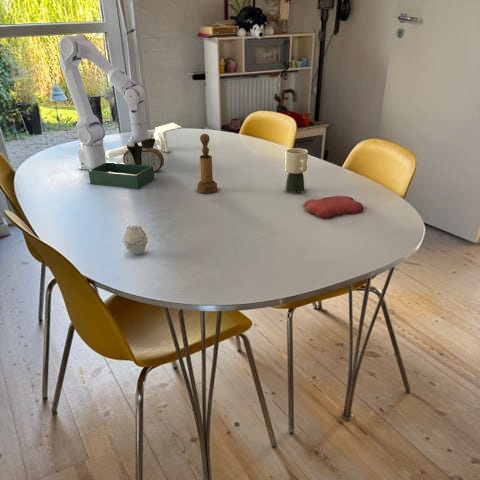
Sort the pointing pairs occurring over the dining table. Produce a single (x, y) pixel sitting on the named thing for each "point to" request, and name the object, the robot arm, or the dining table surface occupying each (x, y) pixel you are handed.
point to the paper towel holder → (159, 138)
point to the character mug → (295, 168)
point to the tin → (147, 158)
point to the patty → (333, 206)
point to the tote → (121, 175)
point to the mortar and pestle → (206, 169)
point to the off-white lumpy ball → (135, 239)
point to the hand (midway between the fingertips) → (143, 161)
